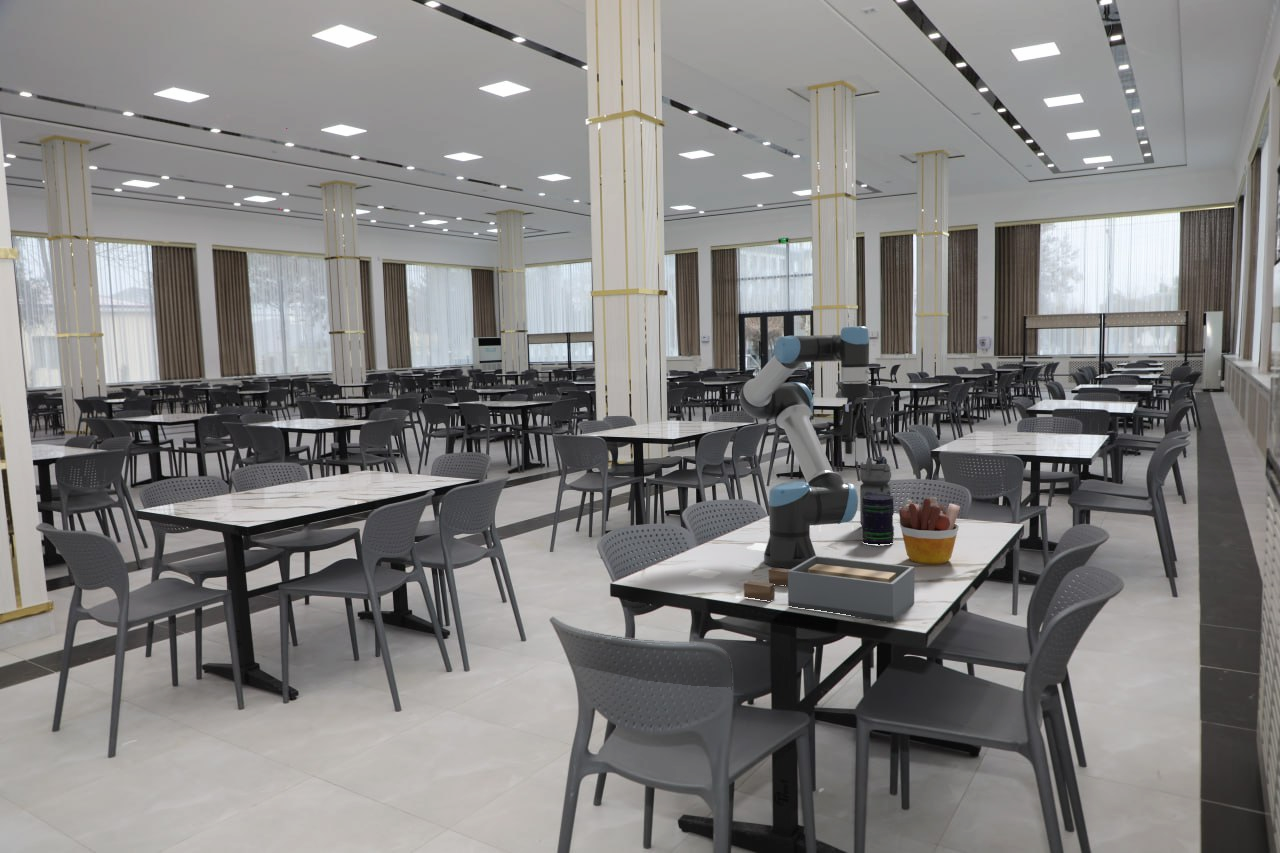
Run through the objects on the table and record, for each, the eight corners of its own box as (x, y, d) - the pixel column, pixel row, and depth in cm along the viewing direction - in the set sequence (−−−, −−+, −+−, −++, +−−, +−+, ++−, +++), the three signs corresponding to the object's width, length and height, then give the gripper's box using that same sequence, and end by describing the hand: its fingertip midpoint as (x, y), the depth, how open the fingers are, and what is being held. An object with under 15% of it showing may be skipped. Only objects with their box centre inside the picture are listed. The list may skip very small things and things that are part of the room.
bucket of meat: (904, 551, 265) (903, 486, 263) (961, 554, 258) (961, 489, 256) (894, 566, 247) (894, 497, 245) (955, 571, 240) (956, 500, 238)
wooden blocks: (769, 602, 215) (769, 586, 215) (744, 598, 219) (743, 583, 218) (797, 585, 230) (797, 570, 230) (773, 581, 234) (773, 567, 233)
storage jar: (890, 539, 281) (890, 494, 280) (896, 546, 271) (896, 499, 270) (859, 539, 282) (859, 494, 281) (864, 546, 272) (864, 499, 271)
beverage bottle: (898, 525, 303) (898, 454, 301) (882, 532, 293) (881, 458, 291) (871, 522, 309) (871, 453, 307) (854, 528, 299) (853, 457, 297)
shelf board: (896, 583, 207) (896, 572, 207) (888, 589, 202) (888, 578, 202) (816, 573, 218) (816, 563, 218) (807, 579, 213) (807, 569, 213)
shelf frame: (788, 607, 210) (787, 571, 210) (814, 589, 225) (814, 555, 224) (893, 622, 196) (893, 584, 196) (914, 602, 211) (914, 566, 210)
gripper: (855, 384, 228) (855, 469, 230) (880, 380, 246) (880, 459, 248) (828, 384, 232) (828, 467, 234) (854, 381, 250) (855, 458, 252)
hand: (855, 463), depth 241 cm, fingers open, 9 cm apart
